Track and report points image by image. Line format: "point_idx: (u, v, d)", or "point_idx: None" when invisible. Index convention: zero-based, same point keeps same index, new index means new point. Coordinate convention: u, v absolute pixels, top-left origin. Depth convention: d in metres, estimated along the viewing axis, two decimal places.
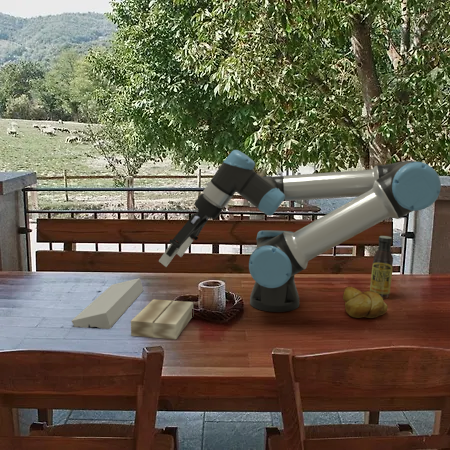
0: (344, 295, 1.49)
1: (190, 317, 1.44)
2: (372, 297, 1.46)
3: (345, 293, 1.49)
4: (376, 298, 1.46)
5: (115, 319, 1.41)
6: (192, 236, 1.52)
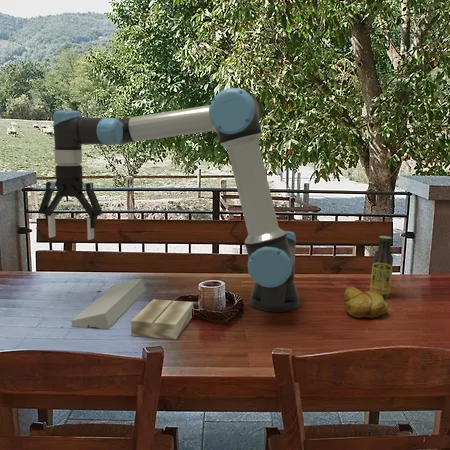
0: (345, 295, 1.50)
1: (190, 317, 1.44)
2: (373, 297, 1.46)
3: (346, 293, 1.49)
4: (377, 298, 1.46)
5: (115, 319, 1.41)
6: None
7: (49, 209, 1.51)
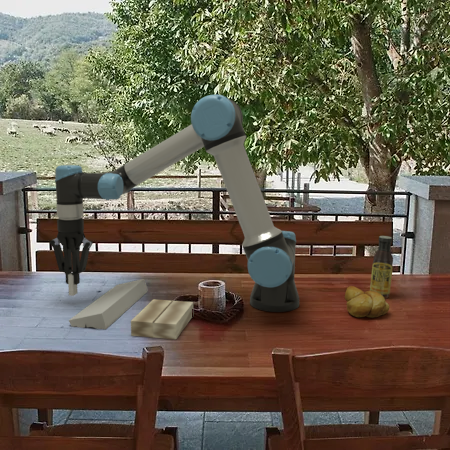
0: (346, 294, 1.50)
1: (190, 317, 1.44)
2: (373, 297, 1.46)
3: (347, 292, 1.50)
4: (378, 298, 1.46)
5: (112, 320, 1.40)
6: None
7: (66, 266, 1.53)
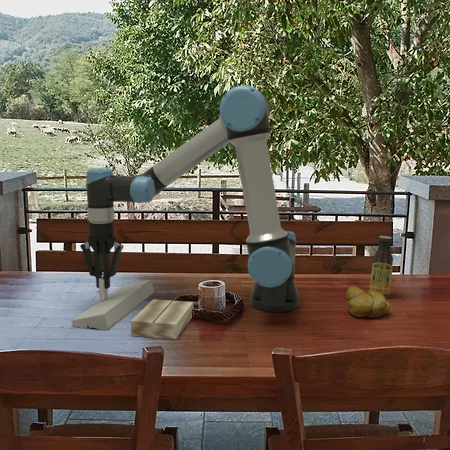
0: (347, 294, 1.50)
1: (190, 317, 1.44)
2: (374, 296, 1.47)
3: (348, 292, 1.50)
4: (378, 298, 1.46)
5: (115, 321, 1.40)
6: None
7: (97, 270, 1.51)
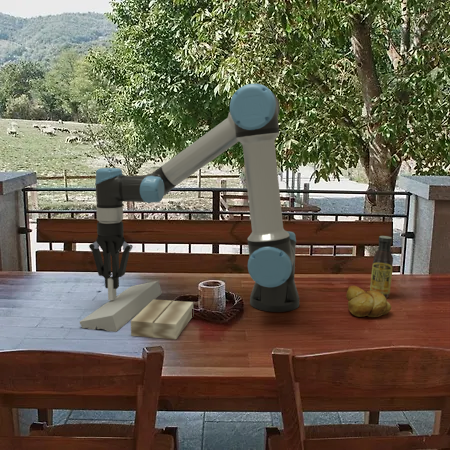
0: (347, 294, 1.50)
1: (190, 317, 1.44)
2: (375, 296, 1.47)
3: (348, 292, 1.50)
4: (379, 298, 1.46)
5: (123, 322, 1.39)
6: None
7: (106, 270, 1.51)
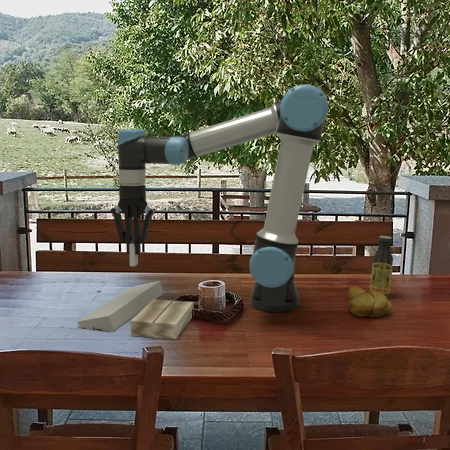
0: (348, 294, 1.51)
1: (190, 317, 1.44)
2: (375, 296, 1.47)
3: (349, 292, 1.50)
4: (379, 297, 1.46)
5: (121, 322, 1.39)
6: None
7: (127, 235, 1.46)
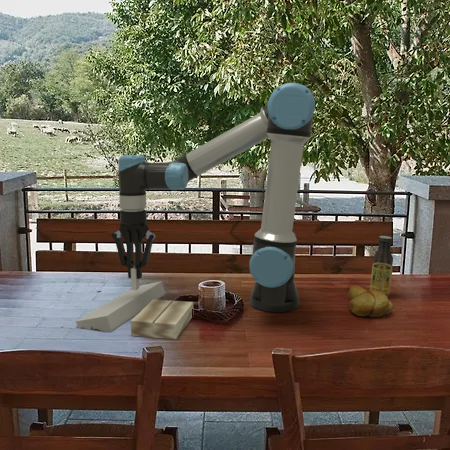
0: (349, 293, 1.51)
1: (190, 317, 1.44)
2: (376, 296, 1.47)
3: (350, 291, 1.51)
4: (380, 297, 1.46)
5: (119, 323, 1.38)
6: None
7: (129, 260, 1.48)
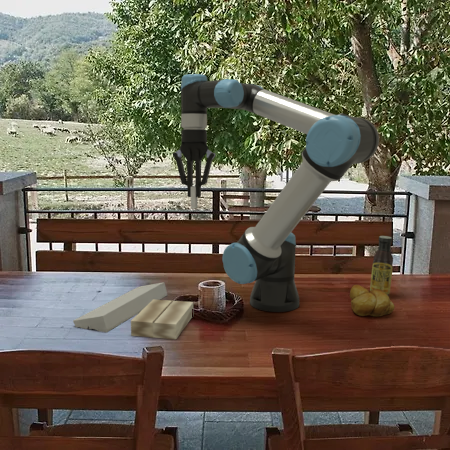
0: (350, 293, 1.51)
1: (190, 317, 1.44)
2: (377, 296, 1.47)
3: (351, 291, 1.51)
4: (381, 297, 1.46)
5: (116, 323, 1.38)
6: None
7: (189, 179, 1.53)
